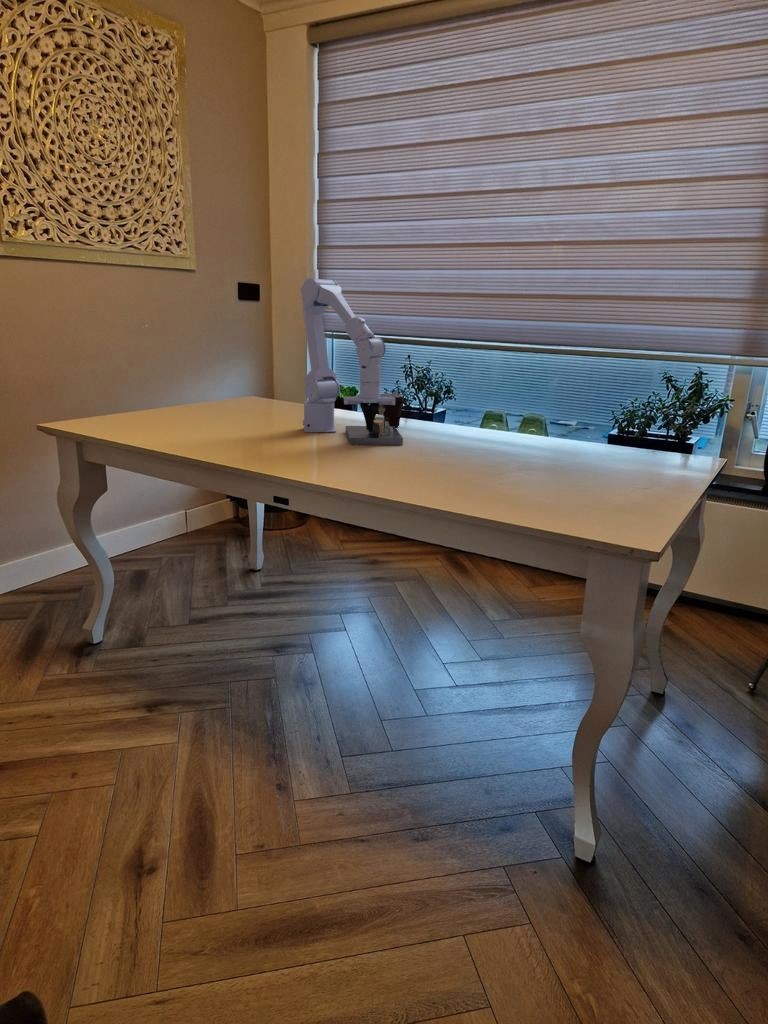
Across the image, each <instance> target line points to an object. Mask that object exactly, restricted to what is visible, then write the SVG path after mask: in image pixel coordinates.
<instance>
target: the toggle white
mask: <svg viewBox="0 0 768 1024" xmlns="http://www.w3.org/2000/svg"><path fill="white" fill-rule="evenodd" d="M376 420H382V422H383V429H384V416H383V415H378V414H376Z"/></svg>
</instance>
